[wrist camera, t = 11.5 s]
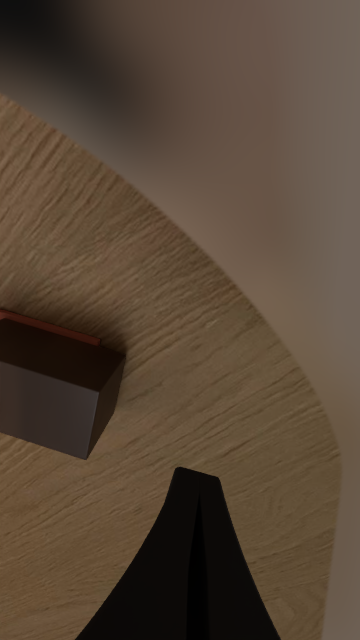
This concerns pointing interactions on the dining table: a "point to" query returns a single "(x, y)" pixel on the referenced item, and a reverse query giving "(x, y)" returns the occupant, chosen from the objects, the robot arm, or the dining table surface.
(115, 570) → the dining table surface
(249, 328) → the dining table surface
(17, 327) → the walnut block
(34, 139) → the dining table surface
